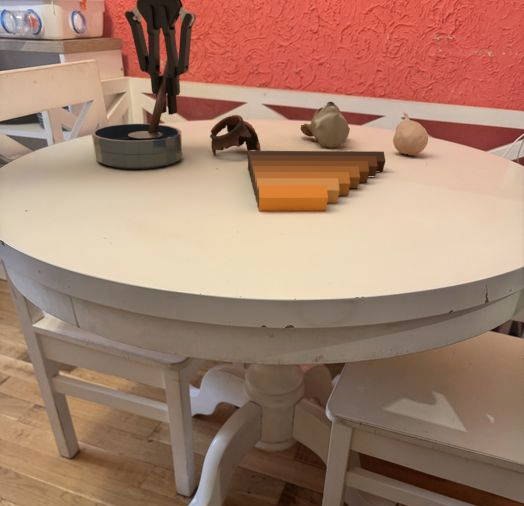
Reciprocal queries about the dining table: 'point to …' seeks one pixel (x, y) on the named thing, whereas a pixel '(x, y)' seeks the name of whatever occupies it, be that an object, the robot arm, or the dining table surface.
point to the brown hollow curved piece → (234, 134)
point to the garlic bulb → (410, 137)
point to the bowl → (136, 147)
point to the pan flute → (308, 176)
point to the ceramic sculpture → (328, 126)
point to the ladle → (154, 113)
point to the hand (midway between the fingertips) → (167, 112)
